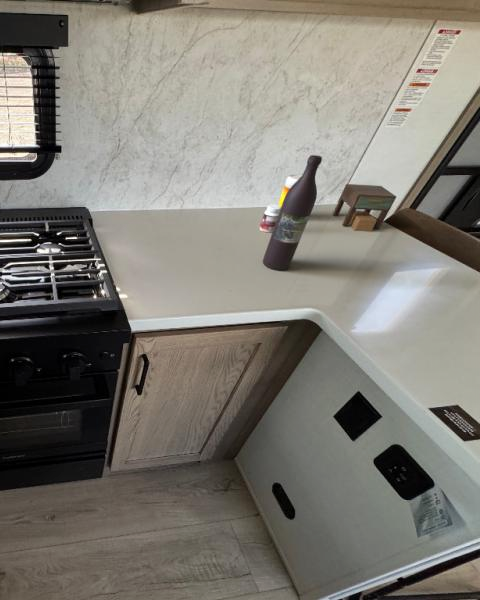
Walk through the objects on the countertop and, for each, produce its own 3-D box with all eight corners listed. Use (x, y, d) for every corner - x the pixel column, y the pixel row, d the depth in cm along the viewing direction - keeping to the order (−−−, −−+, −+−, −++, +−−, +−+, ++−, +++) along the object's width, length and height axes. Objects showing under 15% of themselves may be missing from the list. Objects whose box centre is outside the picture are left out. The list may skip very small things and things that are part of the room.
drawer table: (379, 230, 118) (397, 197, 112) (344, 227, 120) (359, 194, 114) (365, 216, 127) (381, 185, 121) (332, 214, 130) (346, 183, 123)
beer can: (285, 222, 124) (300, 180, 115) (270, 216, 128) (284, 175, 120) (295, 219, 126) (311, 177, 118) (280, 213, 131) (295, 173, 122)
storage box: (371, 231, 117) (376, 220, 115) (354, 230, 118) (360, 219, 116) (361, 222, 124) (366, 211, 121) (345, 221, 125) (350, 210, 122)
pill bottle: (260, 225, 122) (267, 202, 117) (275, 228, 120) (283, 205, 115) (258, 230, 119) (265, 207, 114) (273, 233, 117) (281, 210, 112)
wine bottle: (259, 266, 100) (297, 157, 82) (265, 256, 104) (302, 151, 87) (286, 273, 96) (331, 161, 79) (290, 263, 101) (334, 155, 83)
